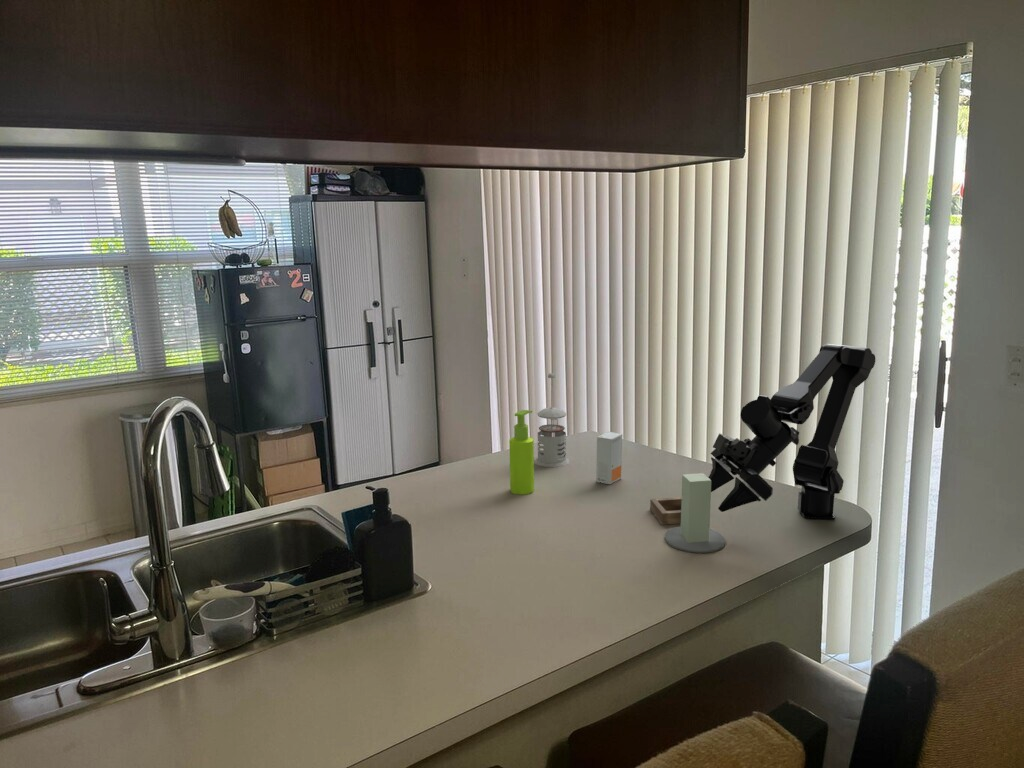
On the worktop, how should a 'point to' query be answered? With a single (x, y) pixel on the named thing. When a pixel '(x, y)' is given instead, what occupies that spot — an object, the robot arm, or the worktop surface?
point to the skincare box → (609, 458)
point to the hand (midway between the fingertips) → (711, 501)
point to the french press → (552, 438)
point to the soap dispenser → (521, 458)
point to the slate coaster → (680, 543)
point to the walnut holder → (665, 504)
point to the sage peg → (695, 507)
